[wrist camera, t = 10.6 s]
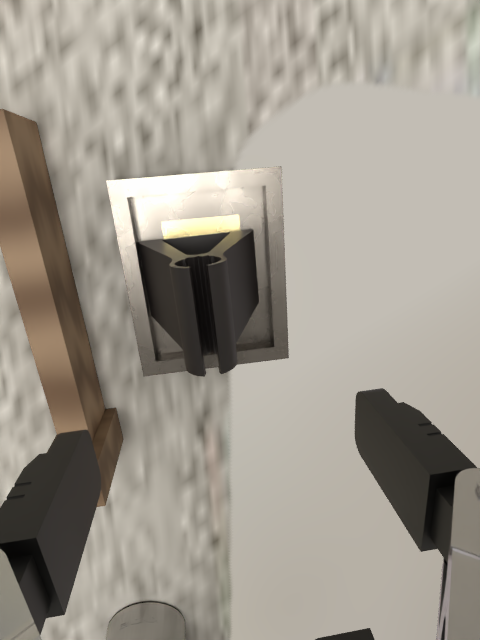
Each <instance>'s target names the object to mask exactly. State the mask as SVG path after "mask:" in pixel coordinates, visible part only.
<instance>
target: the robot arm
mask: <svg viewBox="0 0 480 640" xmlns="http://www.w3.org/2000/svg"><path fill="white" fill-rule="evenodd" d="M355 441H356V445H357V448H358V451H359V453H360V455H361V457H362V459H363V460H364V462H365V463H366V465H367V466H368V468H369V470H370V471H371V473H372V474H373V476H374V478H375V479H376V481H377V482H378V484H379V486H380V487H381V489H382V490H383V492H384V494H385V495H386V497H387V498H388V500H389V502H390V503H391V505H392V506H393V508H394V509H395V511H396V513H397V514H398V516H399V518H400V519H401V521H402V522H403V524H404V525H405V527H406V529H407V530H408V532H409V533H410V535H411V537H412V538H413V540H414V541H415V543H416V545H417V546H418V548H419V549H420V551H421V552H422V551H427V550H433V549H438V550H439V551H440V553H441V554H442V556H443V557H444V559H443V566H442V577H441V589H440V602H439V613H438V625H437V638H436V640H480V468H477V467H476V466H475V465H474V464H473V463H472V462H471V461H470V460H469V459H468V458H467V457H466V456H465V455H464V454H463V453H462V452H461V451H460V450H459V449H458V448H457V447H456V446H455V445H454V444H453V443H452V442H451V441H450V440H449V439H448V438H447V437H446V436H445V435H444V434H441V431H440V430H439V429H438V428H437V427H436V426H434V425H432V424H431V421H429V420H428V419H427V418H426V417H425V416H424V415H423V414H422V413H421V412H420V411H419V410H417V409H415V408H413V407H411V406H410V405H408V404H405V403H404V402H402V403H397V402H396V401H395V400H394V399H393V398H392V397H391V396H390V394H389V393H388V392H387V391H386V390H385V389H375V390H368V391H360V392H358V393H357V395H356V409H355ZM100 492H101V473H100V469H99V465H98V461H97V458H96V454H95V450H94V446H93V443H92V439H91V435H90V433H89V431H88V430H78V431H71V432H64V433H59V434H58V435H57V436H56V438H55V440H54V442H53V444H52V445H51V447H50V449H49V451H48V453H45V454H39V455H38V456H37V457H36V458H35V459H34V460H33V461H31V462H30V463H29V464H28V465H27V466H26V467H25V468H24V469H23V471H22V472H21V474H20V476H19V477H18V479H17V481H16V483H15V487H13V488H12V489H11V491H10V493H9V494H8V496H7V500H6V501H4V503H3V505H2V506H1V508H0V640H42V639H41V637H40V634H41V631H42V628H43V625H44V622H45V619H46V618H49V617H55V616H60V615H65V612H66V608H67V605H68V602H69V598H70V595H71V591H72V588H73V585H74V581H75V578H76V575H77V571H78V568H79V564H80V561H81V558H82V554H83V551H84V547H85V544H86V541H87V537H88V534H89V530H90V527H91V524H92V520H93V517H94V513H95V510H96V507H97V503H98V500H99V497H100ZM106 640H185V621H184V618H183V616H182V615H181V614H180V612H179V611H178V610H176V609H174V608H173V607H171V606H168V605H166V604H161V603H151V602H148V603H140V604H136V605H132V606H129V607H127V608H125V609H123V610H122V611H120V612H118V613H117V614H116V615H115V616H114V617H113V618H112V620H111V621H110V623H109V626H108V630H107V635H106ZM316 640H374V637H373V635H372V633H371V630H370V628H367V629H362V630H358V631H352V632H347V633H342V634H337V635H332V636H327V637H322V638H318V639H316Z"/></svg>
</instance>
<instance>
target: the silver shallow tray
mask: <svg viewBox="0 0 480 640" xmlns="http://www.w3.org/2000/svg"><path fill="white" fill-rule="evenodd" d="M106 182H107V187H108V192H109V198H110V203H111V208H112V213H113V218H114V224H115V229H116V234H117V239H118V245H119V250H120V255H121V260H122V266H123V271H124V276H125V281H126V286H127V292H128V297H129V302H130V307H131V313H132V318H133V323H134V328H135V333H136V339H137V344H138V349H139V354H140V360H141V365H142V370H143V375H144V376H150V375H158V374H166V373H174V372H182V371H187V370H186V366H185V360H184V354H183V349H182V348H181V347H180V346H179V345H178V344H177V343H176V342H175V341H174V340H173V339H172V337H171V336H170V335H169V334H168V333H167V332H166V331H165V330H164V329H163V328H162V327H161V326H160V325H159V323H158V322H157V321H156V320H155V319H154V318H153V317H152V316H151V312H150V306H149V301H148V295H147V290H146V285H145V279H144V274H143V269H142V263H141V258H140V253H139V247H138V242H140V241H148V240H158V239H167V238H176V237H185V236H197V235H203V234H212V233H221V232H231V231H240V230H249V229H253V230H254V243H255V256H256V269H257V282H258V294H259V303H258V305H257V307H256V309H255V310H254V312H253V314H252V316H251V317H250V319H249V321H248V323H247V325H246V326H245V328H244V330H243V332H242V334H241V335H240V337H239V339H238V341H237V343H236V351H237V360H238V362H237V364H245V363H253V362H261V361H269V360H277V359H285V358H289V357H288V328H287V302H286V276H285V248H284V223H283V195H282V169H281V167H268V168H257V169H244V170H231V171H219V172H207V173H195V174H183V175H171V176H159V177H146V178H134V179H122V180H110V181H106ZM203 357H204V364H205V369H206V368H214V367H219V364H218V356H217V353H215V354H214V353H211V352H210V353H209V354H207V355H203Z"/></svg>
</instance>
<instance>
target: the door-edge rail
mask: <svg viewBox="0 0 480 640" xmlns="http://www.w3.org/2000/svg"><path fill="white" fill-rule="evenodd" d="M0 247H1V250H2V253H3V257H4V260H5V263H6V266H7V270H8V273H9V276H10V280H11V283H12V286H13V290H14V293H15V296H16V300H17V303H18V306H19V310H20V313H21V316H22V320H23V323H24V326H25V330H26V333H27V336H28V340H29V343H30V346H31V350H32V353H33V356H34V359H35V363H36V366H37V369H38V373H39V376H40V379H41V383H42V386H43V389H44V393H45V396H46V399H47V403H48V406H49V409H50V413H51V416H52V419H53V423H54V426H55V429H56V433H57V435H58V434H59V433H64V432H71V431H78V430H88V431H89V433H90V435H91V439H92V443H93V446H94V450H95V454H96V458H97V461H98V465H99V469H100V473H101V492H100V497H99V500H98V503H97V507H99V506H105V505H106V502H107V498H108V494H109V490H110V487H111V483H112V479H113V476H114V472H115V468H116V465H117V461H118V457H119V454H120V450H121V446H122V442H123V436H122V432H121V427H120V423H119V419H118V414H117V410H116V408H112V409H105V407H104V402H103V398H102V394H101V390H100V386H99V382H98V377H97V373H96V369H95V365H94V361H93V357H92V352H91V348H90V344H89V340H88V336H87V332H86V328H85V323H84V319H83V315H82V311H81V307H80V303H79V298H78V294H77V290H76V286H75V282H74V278H73V273H72V269H71V265H70V261H69V257H68V253H67V248H66V244H65V240H64V236H63V232H62V228H61V224H60V219H59V215H58V211H57V207H56V203H55V199H54V194H53V190H52V186H51V182H50V178H49V174H48V169H47V165H46V161H45V157H44V153H43V149H42V144H41V140H40V136H39V132H38V128H37V124H36V122H34V121H32V120H29V119H27V118H24V117H22V116H19V115H17V114H14V113H12V112H9V111H7V110H4V109H0ZM57 435H56V436H57ZM55 438H56V437H55ZM54 440H55V439H54ZM53 442H54V441H53ZM52 444H53V443H52ZM52 444H51V445H52ZM50 447H51V446H50ZM49 449H50V448H49ZM48 451H49V450H48ZM47 453H48V452H47Z"/></svg>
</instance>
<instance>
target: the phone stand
mask: <svg viewBox="0 0 480 640" xmlns="http://www.w3.org/2000/svg"><path fill="white" fill-rule="evenodd" d="M138 247H139V253H140V258H141V263H142V269H143V274H144V279H145V285H146V290H147V295H148V301H149V306H150V312H151V316H152V317H153V318H154V319H155V320H156V321H157V322H158V323H159V325H160V326H161V327H162V328H163V329H164V330H165V331H166V332H167V333H168V334H169V335H170V336H171V337H172V339H173V340H174V341H175V342H176V343H177V344H178V345H179V346H180V347H181V348H182V349H183V354H184V360H185V366H186V370H187V371H188V372H189V373H191V374H193V375H196V376H205V374H206V371H205V364H204V357H203V355H207V354H209V353H210V352H211V353H214V354H215V353H217V356H218V364H219V372H220V373H221V374H223V373H226V372H228V371H230V370H231V369H233V368H234V367H235V366H236V365H237V362H238V360H237V351H236V343H237V341H238V339H239V337H240V335H241V334H242V332H243V330H244V328H245V326H246V325H247V323H248V321H249V319H250V317H251V316H252V314H253V312H254V310H255V309H256V307H257V305H258V303H259V294H258V282H257V269H256V256H255V243H254V230H253V229H249V230H240V231H231V232H221V233H212V234H203V235H197V236H185V237H176V238H167V239H158V240H148V241H140V242H138Z"/></svg>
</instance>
